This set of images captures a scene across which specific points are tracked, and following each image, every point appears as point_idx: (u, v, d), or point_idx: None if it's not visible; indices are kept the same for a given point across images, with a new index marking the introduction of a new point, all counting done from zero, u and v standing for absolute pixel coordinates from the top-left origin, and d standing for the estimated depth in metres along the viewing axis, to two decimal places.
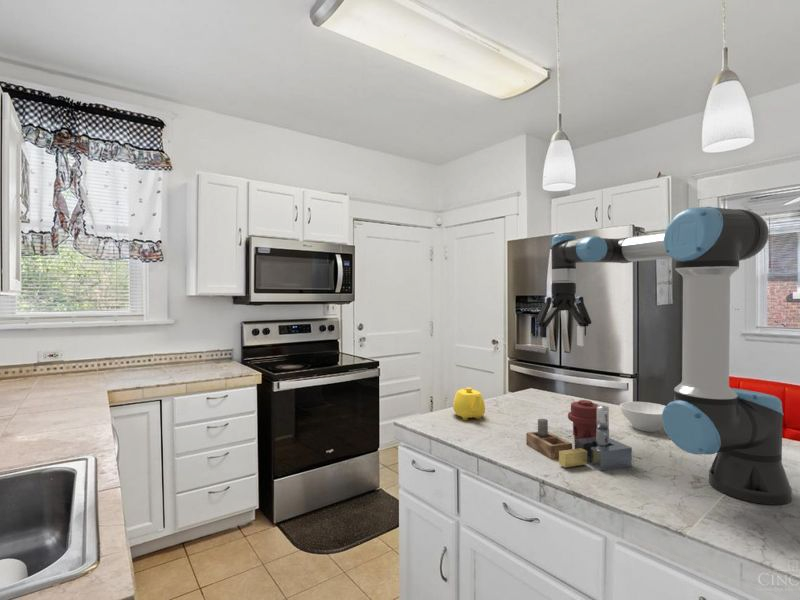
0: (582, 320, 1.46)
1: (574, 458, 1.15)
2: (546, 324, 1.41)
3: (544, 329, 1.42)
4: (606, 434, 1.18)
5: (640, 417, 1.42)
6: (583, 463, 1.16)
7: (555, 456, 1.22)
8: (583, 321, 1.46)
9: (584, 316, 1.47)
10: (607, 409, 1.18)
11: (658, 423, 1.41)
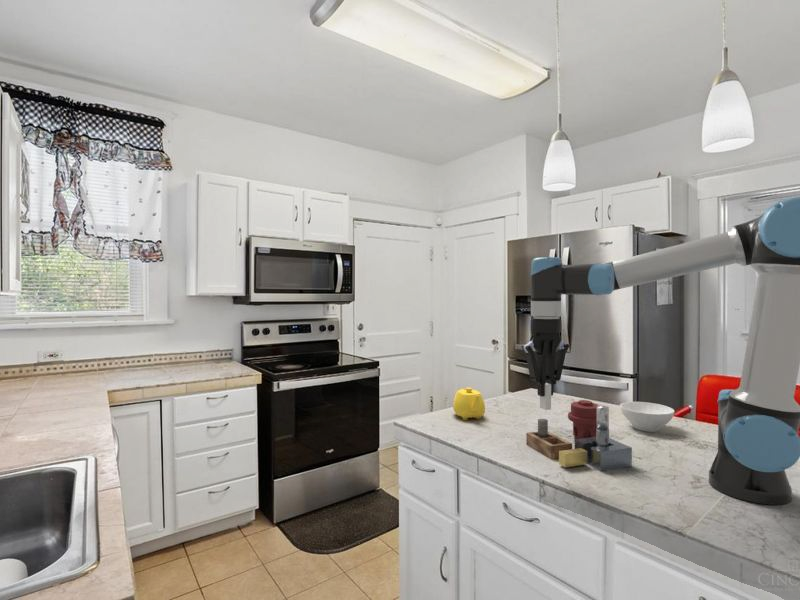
0: (552, 374, 1.13)
1: (574, 458, 1.15)
2: (543, 380, 1.12)
3: (542, 386, 1.13)
4: (606, 434, 1.18)
5: (640, 417, 1.42)
6: (583, 463, 1.16)
7: (555, 456, 1.22)
8: (552, 376, 1.13)
9: (556, 368, 1.14)
10: (607, 409, 1.18)
11: (658, 423, 1.41)
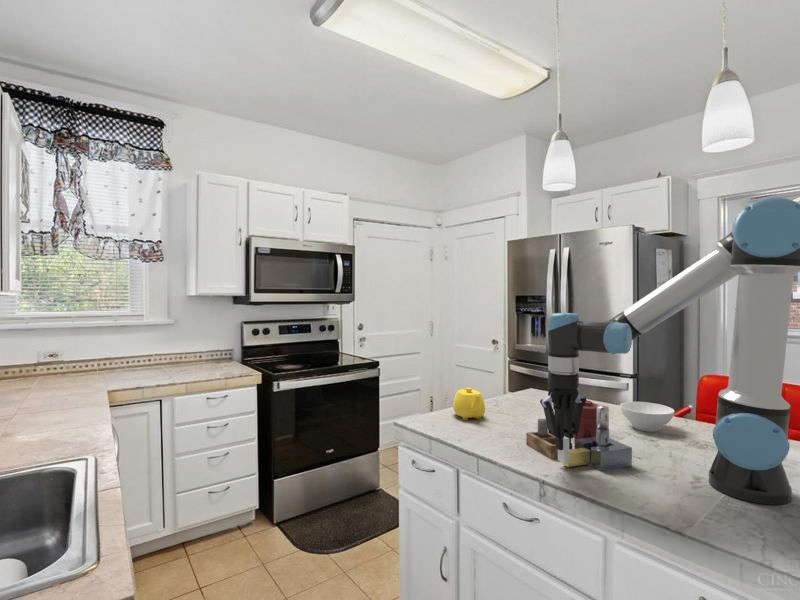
0: (570, 428, 1.15)
1: (577, 458, 1.16)
2: (562, 434, 1.14)
3: (560, 440, 1.14)
4: (606, 434, 1.18)
5: (640, 417, 1.42)
6: (586, 463, 1.17)
7: (555, 456, 1.22)
8: (570, 430, 1.15)
9: (574, 421, 1.16)
10: (607, 409, 1.18)
11: (658, 423, 1.41)
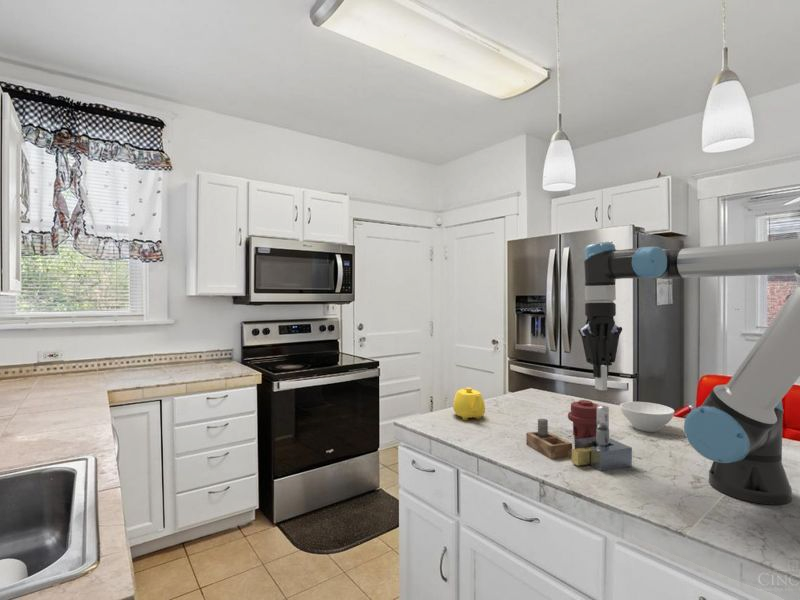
0: (607, 356, 1.18)
1: (587, 457, 1.17)
2: (600, 361, 1.17)
3: (598, 368, 1.17)
4: (606, 434, 1.18)
5: (640, 417, 1.42)
6: None
7: (555, 456, 1.22)
8: (608, 358, 1.18)
9: (611, 350, 1.19)
10: (607, 409, 1.18)
11: (658, 423, 1.41)
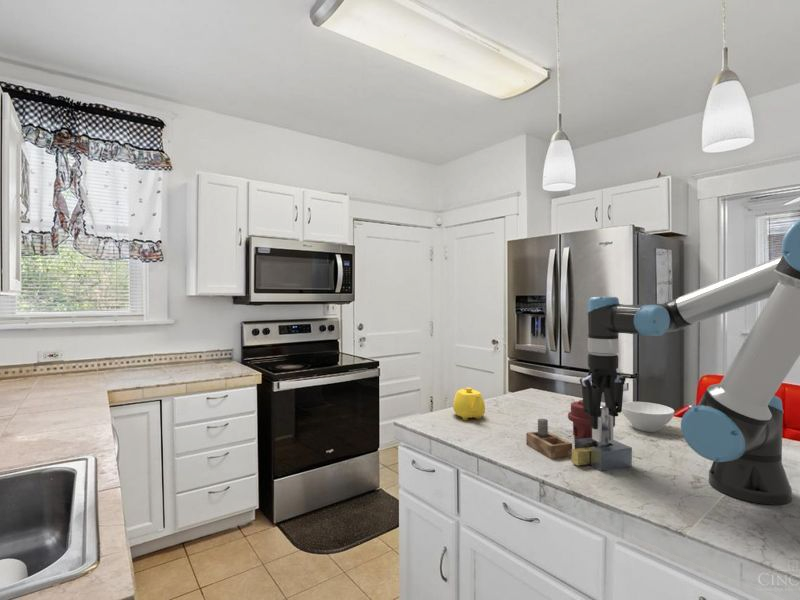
0: (613, 407, 1.19)
1: (587, 457, 1.17)
2: (597, 413, 1.17)
3: (595, 420, 1.18)
4: (606, 434, 1.18)
5: (640, 417, 1.42)
6: None
7: (555, 456, 1.22)
8: (614, 408, 1.19)
9: (616, 400, 1.20)
10: (607, 409, 1.18)
11: (658, 423, 1.41)
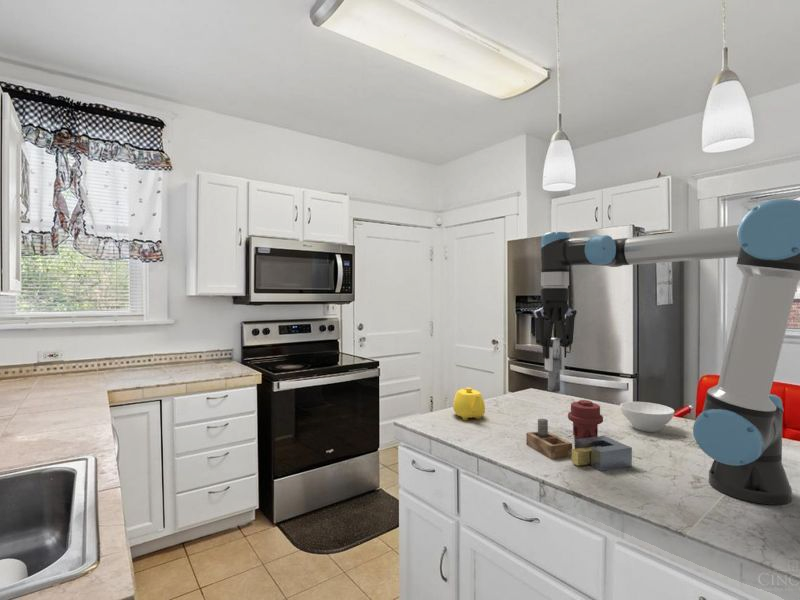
0: (564, 338, 1.25)
1: (587, 457, 1.17)
2: (548, 343, 1.23)
3: (547, 350, 1.24)
4: (557, 363, 1.24)
5: (640, 417, 1.42)
6: None
7: (555, 456, 1.22)
8: (565, 340, 1.25)
9: (568, 333, 1.26)
10: (558, 340, 1.24)
11: (658, 423, 1.41)
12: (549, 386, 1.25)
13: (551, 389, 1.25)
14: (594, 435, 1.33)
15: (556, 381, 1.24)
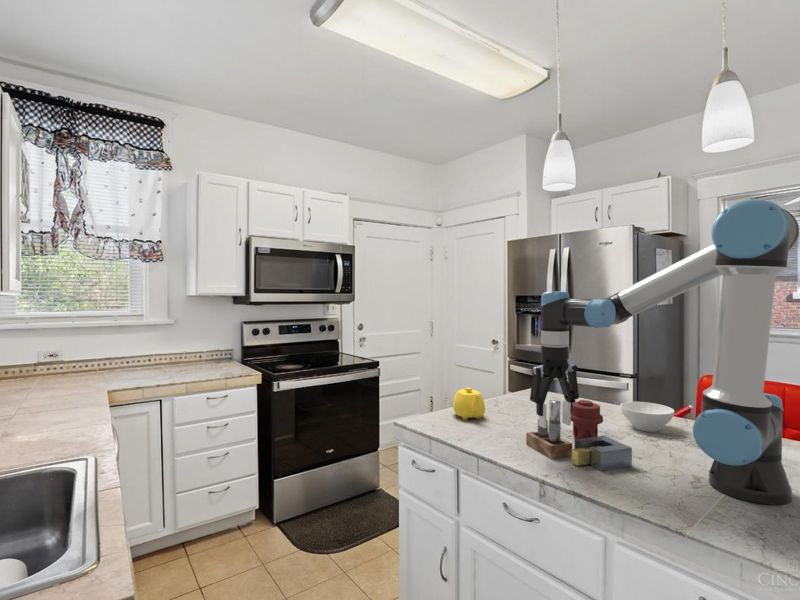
0: (569, 394, 1.26)
1: (587, 457, 1.17)
2: (542, 400, 1.23)
3: (540, 407, 1.23)
4: (557, 427, 1.24)
5: (640, 417, 1.42)
6: None
7: (555, 456, 1.22)
8: (570, 395, 1.26)
9: (572, 388, 1.27)
10: (559, 403, 1.24)
11: (658, 423, 1.41)
12: None
13: None
14: (594, 435, 1.33)
15: None
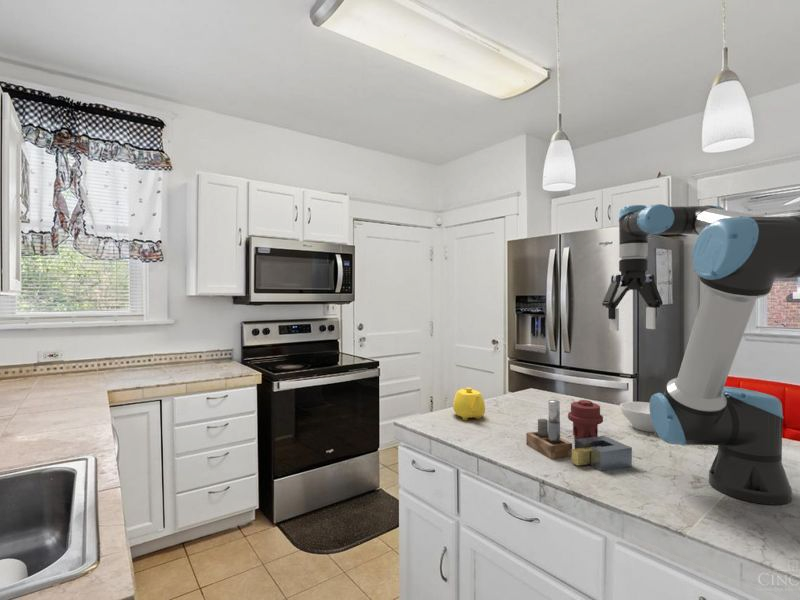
0: (653, 300, 1.32)
1: (587, 457, 1.17)
2: (615, 304, 1.28)
3: (613, 310, 1.29)
4: (557, 426, 1.24)
5: (640, 417, 1.42)
6: None
7: (555, 456, 1.22)
8: (654, 302, 1.32)
9: (655, 296, 1.33)
10: (558, 403, 1.24)
11: None
12: None
13: None
14: (594, 435, 1.33)
15: None
